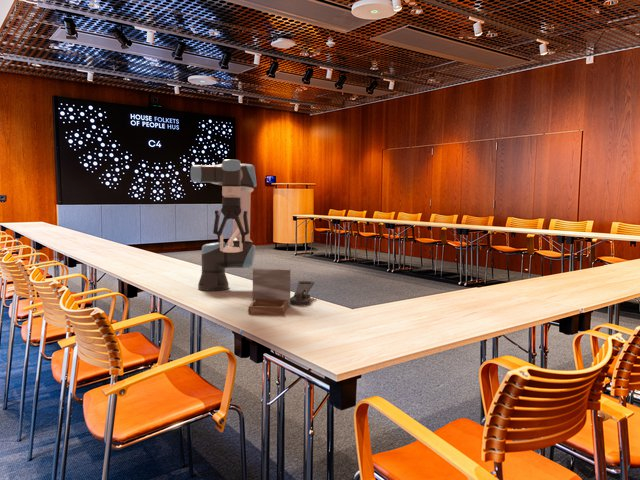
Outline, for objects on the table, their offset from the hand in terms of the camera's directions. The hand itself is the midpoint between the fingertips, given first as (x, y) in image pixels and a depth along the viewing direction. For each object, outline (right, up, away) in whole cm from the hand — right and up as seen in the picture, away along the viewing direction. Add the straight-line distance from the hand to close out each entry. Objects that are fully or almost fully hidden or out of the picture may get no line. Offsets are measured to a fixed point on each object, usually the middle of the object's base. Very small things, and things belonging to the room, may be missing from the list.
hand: (231, 250), depth 203 cm
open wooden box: (+16, -25, -4) cm, 30 cm away
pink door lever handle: (0, 0, 0) cm, 0 cm away
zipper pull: (+30, -23, +18) cm, 42 cm away
